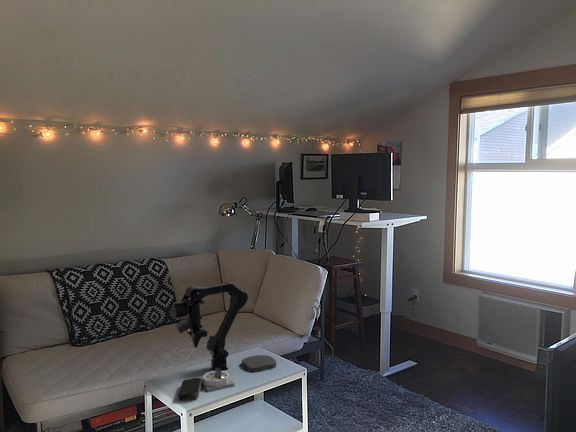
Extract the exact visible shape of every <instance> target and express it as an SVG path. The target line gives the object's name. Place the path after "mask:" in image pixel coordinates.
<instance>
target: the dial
mask: <svg viewBox="0 0 576 432" xmlns="http://www.w3.org/2000/svg"><path fill="white" fill-rule="evenodd" d="M221 371H222V370H221V369H219V368H215V373H212V374H209V375H208V376H207V379H210V380H219V379H221V378H222V377H223V378H225V374H223V373H221Z"/></svg>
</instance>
